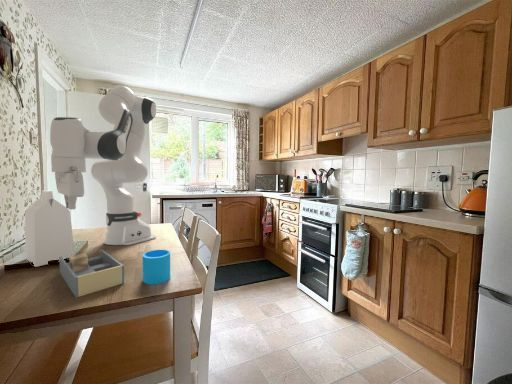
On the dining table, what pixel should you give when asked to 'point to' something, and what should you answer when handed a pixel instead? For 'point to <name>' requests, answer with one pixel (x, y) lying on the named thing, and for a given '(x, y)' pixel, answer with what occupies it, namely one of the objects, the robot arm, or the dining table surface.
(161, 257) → the mug
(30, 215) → the milk
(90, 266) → the box
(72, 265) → the block
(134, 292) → the dining table surface
